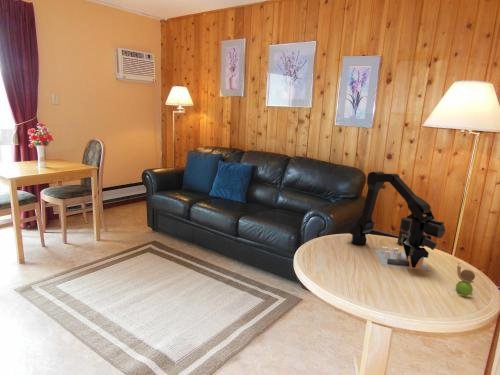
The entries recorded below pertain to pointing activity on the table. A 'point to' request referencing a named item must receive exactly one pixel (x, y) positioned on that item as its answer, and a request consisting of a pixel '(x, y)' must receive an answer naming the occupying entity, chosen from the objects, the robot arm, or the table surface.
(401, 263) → the plug
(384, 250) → the clips
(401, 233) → the deodorant
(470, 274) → the snail figurine
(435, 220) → the robot arm
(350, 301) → the table surface
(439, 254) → the table surface
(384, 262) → the board
